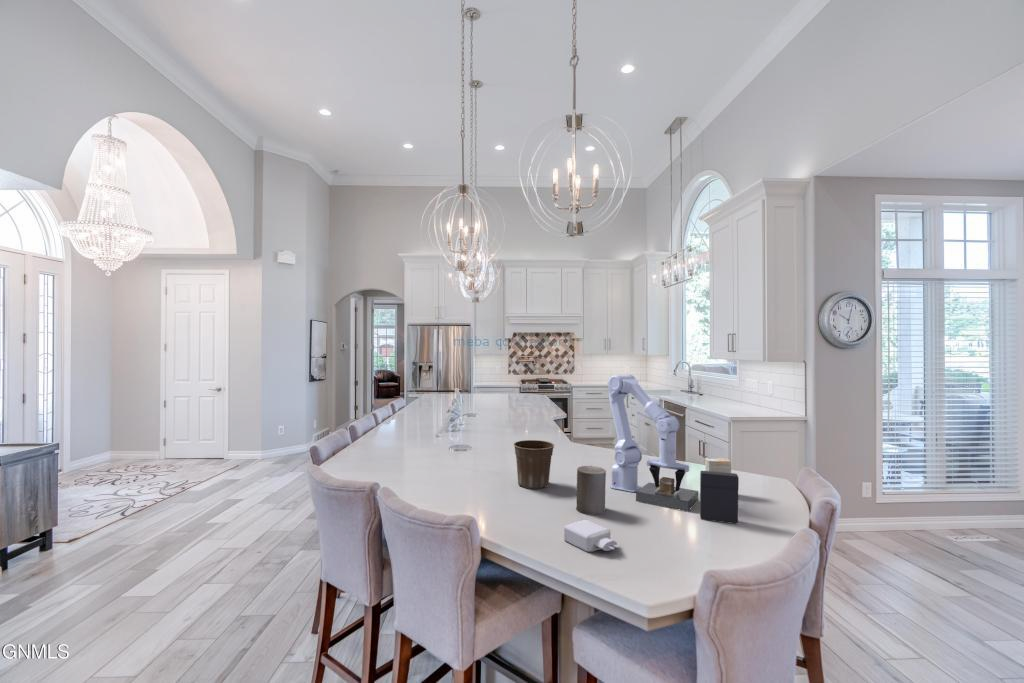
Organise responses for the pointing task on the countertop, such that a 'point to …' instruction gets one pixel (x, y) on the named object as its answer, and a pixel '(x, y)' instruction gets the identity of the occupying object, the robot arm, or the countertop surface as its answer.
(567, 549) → the countertop surface
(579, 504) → the pillar candle
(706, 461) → the supplement box
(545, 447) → the plant pot
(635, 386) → the robot arm
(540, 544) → the countertop surface
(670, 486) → the key peg
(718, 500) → the black rectangular box
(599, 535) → the charger
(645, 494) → the grey peg hole board
